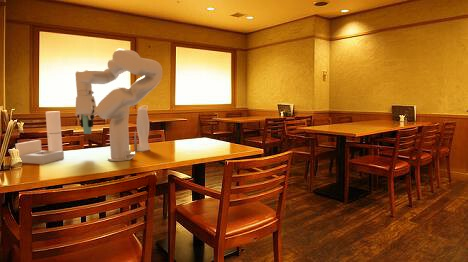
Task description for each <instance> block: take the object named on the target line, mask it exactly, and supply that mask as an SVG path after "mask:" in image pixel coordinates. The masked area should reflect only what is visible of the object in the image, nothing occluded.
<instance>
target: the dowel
mask: <svg viewBox="0 0 468 262" xmlns="http://www.w3.org/2000/svg"><path fill="white" fill-rule="evenodd" d="M82 118H83V127H82V128H83V134H84V135H88V134H89V135H91V134H92V132H93V131H92V127H88V120H89V118H88V114H85V116H82Z"/></svg>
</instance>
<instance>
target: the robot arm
mask: <svg viewBox="0 0 468 262" xmlns="http://www.w3.org/2000/svg"><path fill="white" fill-rule="evenodd" d="M125 72H129V73H130V74H132V75H135V76H141V77H140V78H138V79H136V80H135V82H134V83H132V84H131V85H129V86H128V87H127V86H126V87H117V88H114V89H112V90H111V91H110V92H108V94H107V95H105V96H104V97H103V98H102V99H101V100H100V101H99V102H98V104H97V103H96V100H95V96H94V95H93V94H94V93H95V92H94V91H93V89H92V86H93V85H106V84H108V83H110V82H114V81H115V80H116V79H118V77H119V76H120V75H121V74H123V73H125ZM162 78H163V67H162V65H161V63H160V62H158V61H157V60H154V59H151V58H143V57H141V56H140V55H139V53H138V52H136V51H135V50H132V49H126V48H118V49H116V50H115V51H114V52H113V54H112V58H110V59H109V60H108V61H107V68H105V69H103V70H101V69H86V70H77V71H76V72H75V85H76V86H75V87H76V97H75V112H74V116H76V117H77V118H78V119H79V120H80V127H81V128H83V118H82V116H85V115H88V118H89V120H88V127H91V128H93V127H94V120H95V118H96V116H98V117H100V118H101V119H103V120H110V122H109V127H108V129H109V145H110V156H108V157H107V161H110V162H124V161H130V160H132V159H133V157H136V154H137V153H136V152H132V149H130V136H129V135H130V133H129V132H130V131H129V118H130V117H129V116H130V111H131V110H130V107H134V106H136V105H137V104H138V103H140V102H141V101H142V100H143V99H144V98H145V97H147V95H148V94H149V93H150V92H152V91H153V90H154V89H155V88H157V86H158V85H159V84H160V82H161V80H162Z"/></svg>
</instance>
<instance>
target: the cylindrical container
mask: <svg viewBox="0 0 468 262" xmlns="http://www.w3.org/2000/svg"><path fill="white" fill-rule="evenodd" d="M45 121H46V136H47V148H48V150H47V151H64V150H63V138H62V123H61V112H60V110H57V111H55V110H54V111H45Z"/></svg>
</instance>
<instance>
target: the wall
mask: <svg viewBox="0 0 468 262" xmlns="http://www.w3.org/2000/svg"><path fill="white" fill-rule="evenodd" d="M14 145H15V150H16V149H18V150H19V156H20V155H22V154H27V153H31V152H36V151H41V150H42V140H41V139H36V140H30V141H23V142H18V143H15V144H14Z"/></svg>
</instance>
